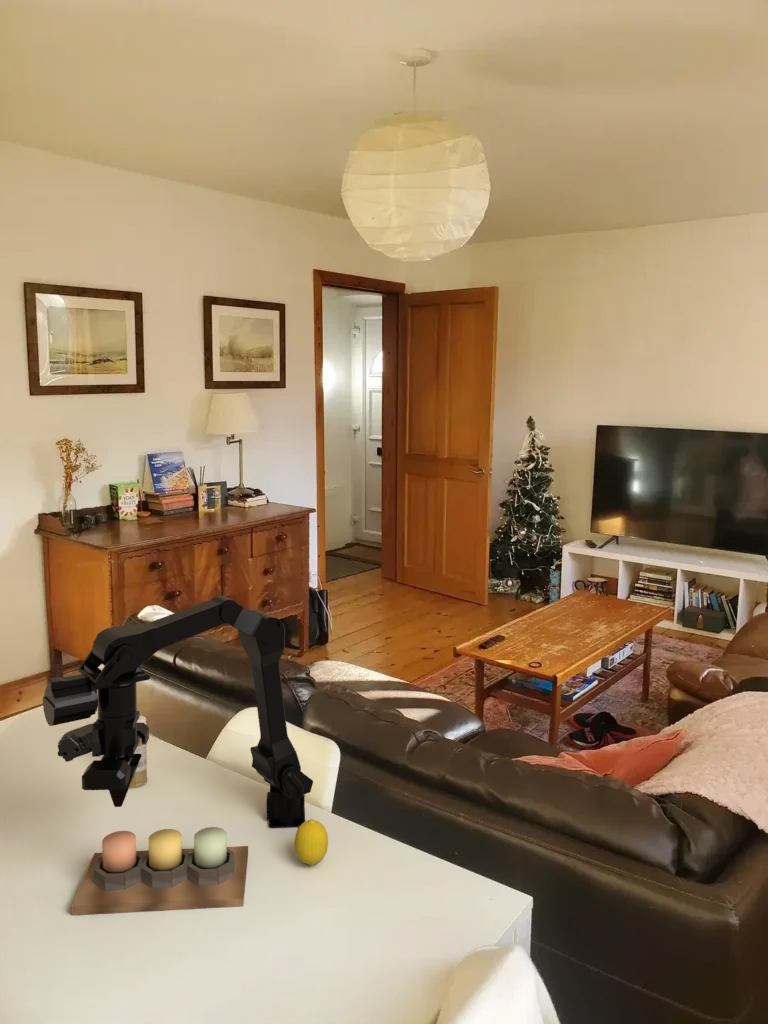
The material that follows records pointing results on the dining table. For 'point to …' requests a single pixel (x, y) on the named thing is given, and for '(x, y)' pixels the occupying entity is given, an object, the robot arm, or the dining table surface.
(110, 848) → the button terracotta
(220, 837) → the button sage
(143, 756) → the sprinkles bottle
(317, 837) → the lemon
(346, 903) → the dining table surface
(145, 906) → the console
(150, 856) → the button ochre
